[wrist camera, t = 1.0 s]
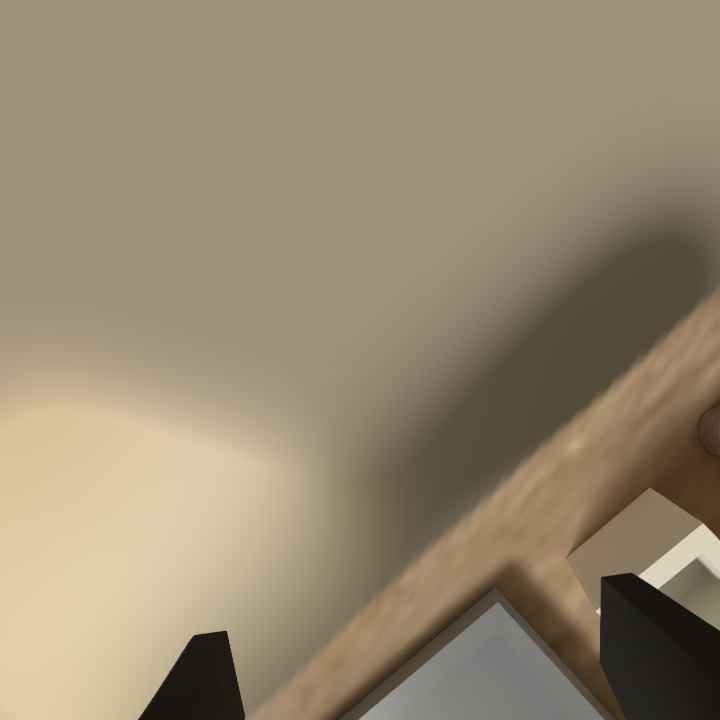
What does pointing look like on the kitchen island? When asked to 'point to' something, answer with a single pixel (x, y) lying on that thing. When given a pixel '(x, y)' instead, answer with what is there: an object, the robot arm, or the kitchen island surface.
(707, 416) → the cylinder
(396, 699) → the tray
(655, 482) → the kitchen island surface
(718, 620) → the cream block
